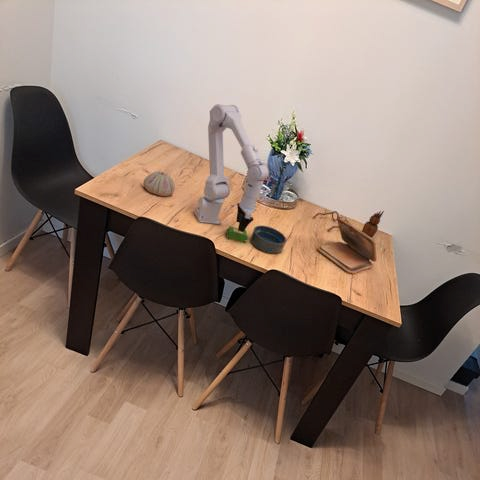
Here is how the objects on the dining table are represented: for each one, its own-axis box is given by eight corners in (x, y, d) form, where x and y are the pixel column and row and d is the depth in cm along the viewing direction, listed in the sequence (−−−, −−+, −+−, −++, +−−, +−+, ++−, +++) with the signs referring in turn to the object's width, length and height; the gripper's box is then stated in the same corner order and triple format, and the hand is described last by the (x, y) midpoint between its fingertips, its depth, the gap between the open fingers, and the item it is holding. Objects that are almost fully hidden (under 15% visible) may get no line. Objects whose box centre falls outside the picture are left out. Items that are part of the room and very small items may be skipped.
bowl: (257, 253, 183) (261, 242, 180) (245, 234, 192) (248, 224, 189) (287, 255, 189) (291, 245, 186) (273, 237, 198) (277, 227, 196)
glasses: (346, 231, 230) (351, 223, 227) (328, 231, 223) (332, 222, 220) (331, 218, 238) (335, 209, 235) (312, 217, 231) (316, 208, 228)
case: (374, 267, 207) (392, 236, 198) (350, 275, 193) (368, 242, 184) (340, 243, 216) (355, 212, 207) (314, 249, 202) (329, 216, 193)
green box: (226, 238, 184) (228, 231, 183) (225, 232, 188) (227, 225, 186) (246, 243, 187) (248, 236, 185) (245, 237, 190) (247, 230, 188)
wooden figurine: (372, 237, 235) (387, 210, 227) (371, 241, 230) (386, 214, 222) (360, 231, 236) (374, 205, 227) (359, 235, 231) (373, 208, 222)
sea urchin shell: (174, 201, 196) (178, 183, 191) (141, 193, 192) (145, 175, 187) (173, 188, 206) (177, 171, 201) (142, 180, 202) (146, 163, 197)
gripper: (263, 206, 172) (251, 237, 180) (258, 190, 183) (247, 220, 191) (245, 201, 170) (234, 233, 178) (241, 185, 181) (231, 216, 189)
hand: (239, 226), depth 184 cm, fingers open, 7 cm apart
